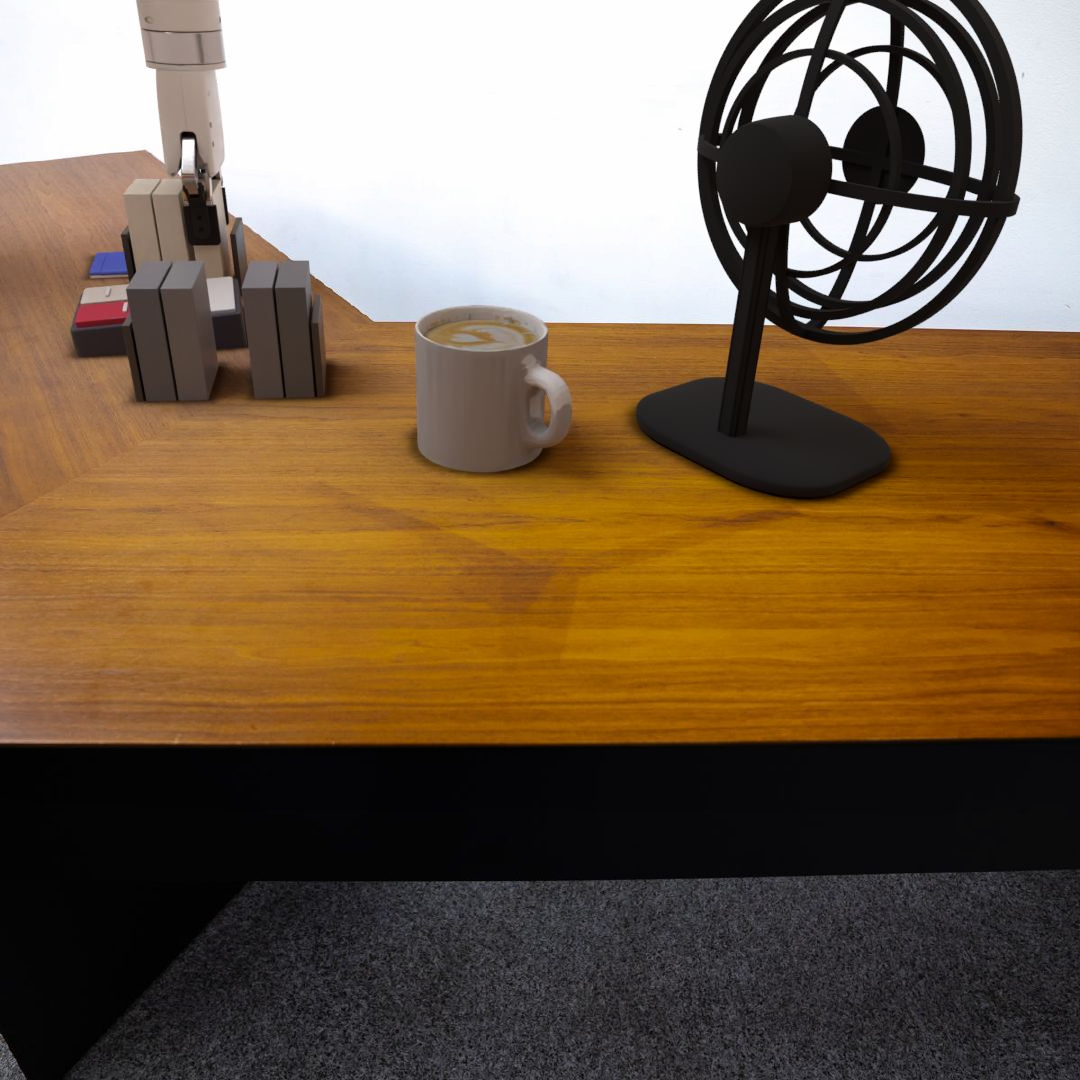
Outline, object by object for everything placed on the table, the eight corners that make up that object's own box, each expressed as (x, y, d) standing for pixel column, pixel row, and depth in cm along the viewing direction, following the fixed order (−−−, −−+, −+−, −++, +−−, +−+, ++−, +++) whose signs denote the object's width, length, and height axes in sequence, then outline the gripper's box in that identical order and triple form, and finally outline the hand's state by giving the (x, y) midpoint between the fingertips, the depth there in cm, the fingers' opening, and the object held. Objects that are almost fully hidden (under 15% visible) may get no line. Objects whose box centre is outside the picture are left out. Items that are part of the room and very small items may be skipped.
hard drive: (207, 247, 118) (96, 250, 115) (206, 266, 111) (88, 271, 108) (209, 260, 119) (99, 264, 116) (208, 280, 112) (91, 285, 109)
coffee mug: (393, 439, 79) (389, 319, 73) (493, 410, 84) (495, 297, 79) (492, 508, 70) (495, 378, 65) (596, 471, 76) (606, 348, 70)
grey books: (137, 406, 82) (114, 288, 77) (152, 371, 88) (132, 260, 83) (324, 401, 85) (315, 287, 79) (326, 368, 91) (318, 260, 85)
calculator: (78, 284, 96) (236, 270, 100) (90, 326, 99) (243, 311, 102) (66, 322, 88) (239, 305, 91) (79, 367, 90) (247, 349, 93)
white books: (132, 300, 104) (113, 193, 98) (144, 280, 110) (126, 178, 104) (243, 299, 106) (230, 194, 100) (249, 279, 112) (237, 179, 106)
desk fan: (970, 474, 78) (1130, -36, 59) (838, 543, 68) (979, -43, 50) (715, 366, 95) (776, -55, 77) (579, 408, 85) (613, -63, 67)
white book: (201, 300, 105) (185, 194, 99) (209, 280, 111) (195, 179, 105) (226, 300, 106) (212, 194, 100) (233, 280, 111) (220, 179, 106)
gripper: (159, 39, 102) (185, 214, 112) (126, 59, 88) (159, 258, 97) (233, 41, 103) (253, 214, 113) (213, 61, 89) (237, 257, 98)
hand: (209, 233), depth 105 cm, fingers closed on white book, 7 cm apart
